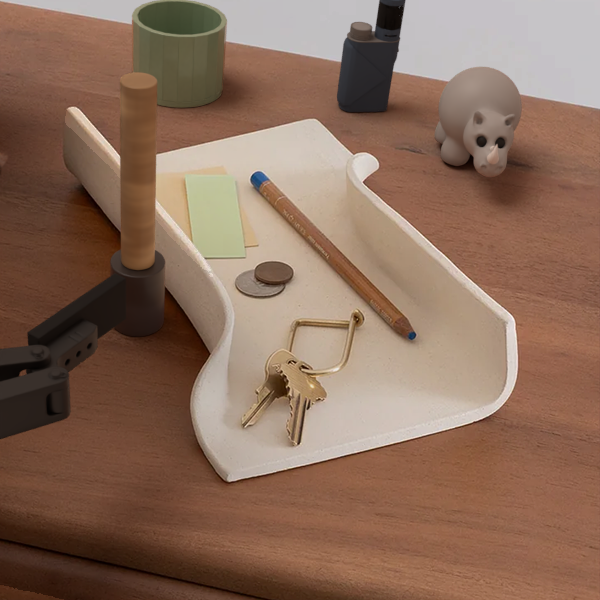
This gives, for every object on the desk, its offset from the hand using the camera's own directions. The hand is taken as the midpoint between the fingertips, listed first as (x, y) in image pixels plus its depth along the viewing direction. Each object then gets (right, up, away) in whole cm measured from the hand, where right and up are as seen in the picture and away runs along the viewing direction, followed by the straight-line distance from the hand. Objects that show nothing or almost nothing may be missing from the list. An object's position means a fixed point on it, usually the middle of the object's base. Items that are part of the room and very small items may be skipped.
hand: (27, 248), depth 60 cm
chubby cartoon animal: (+31, +8, +35) cm, 47 cm away
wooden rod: (+4, -4, +13) cm, 15 cm away
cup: (+4, +18, +42) cm, 46 cm away
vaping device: (+21, +16, +43) cm, 50 cm away
